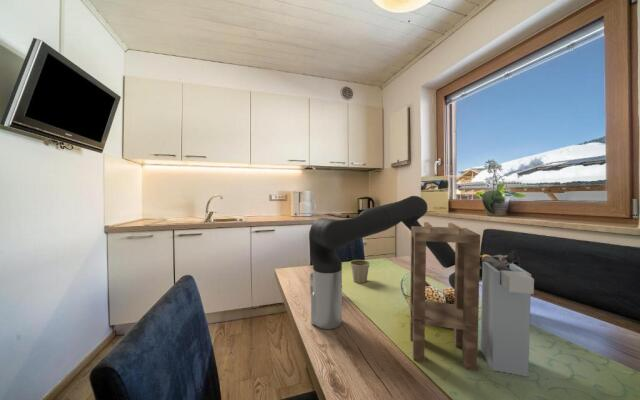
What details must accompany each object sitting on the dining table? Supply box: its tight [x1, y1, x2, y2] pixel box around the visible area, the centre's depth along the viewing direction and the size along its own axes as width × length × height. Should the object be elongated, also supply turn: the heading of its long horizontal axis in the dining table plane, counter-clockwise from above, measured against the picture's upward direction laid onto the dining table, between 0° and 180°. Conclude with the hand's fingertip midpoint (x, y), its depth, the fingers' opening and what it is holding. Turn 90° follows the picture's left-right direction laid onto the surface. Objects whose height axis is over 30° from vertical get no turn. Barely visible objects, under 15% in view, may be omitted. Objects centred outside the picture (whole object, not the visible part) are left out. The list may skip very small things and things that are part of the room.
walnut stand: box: [409, 221, 481, 372], centre depth 65 cm, size 14×11×33 cm
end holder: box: [480, 262, 532, 378], centre depth 61 cm, size 7×8×24 cm
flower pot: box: [349, 259, 371, 284], centre depth 116 cm, size 9×9×9 cm
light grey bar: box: [481, 253, 535, 295], centre depth 62 cm, size 4×20×3 cm, turn 165°
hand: (496, 254), depth 65 cm, fingers open, 8 cm apart
